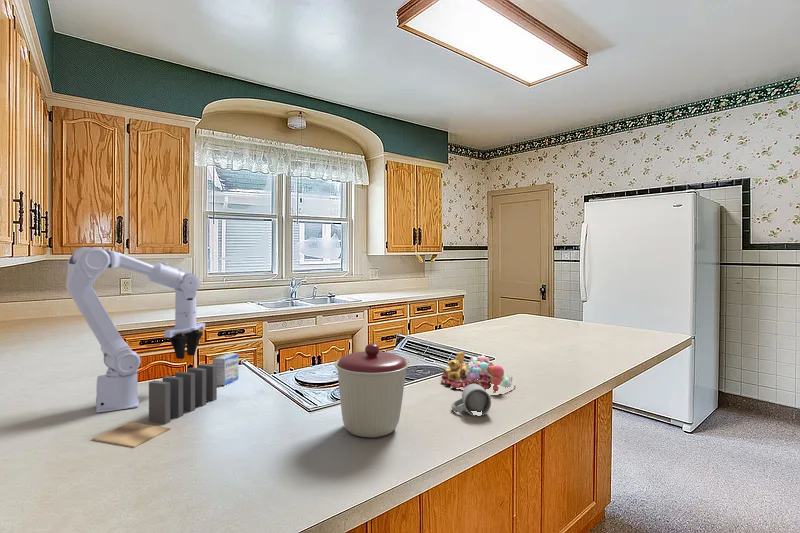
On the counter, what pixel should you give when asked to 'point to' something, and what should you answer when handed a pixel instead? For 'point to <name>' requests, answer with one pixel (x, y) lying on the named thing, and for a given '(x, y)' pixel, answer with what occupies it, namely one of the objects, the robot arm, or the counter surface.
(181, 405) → the domino
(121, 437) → the cork pad
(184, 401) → the domino
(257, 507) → the counter surface
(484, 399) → the ceramic mug
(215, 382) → the domino
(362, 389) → the canister
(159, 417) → the domino
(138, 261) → the robot arm
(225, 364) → the medicine box
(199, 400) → the domino
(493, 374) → the candy landscape model
